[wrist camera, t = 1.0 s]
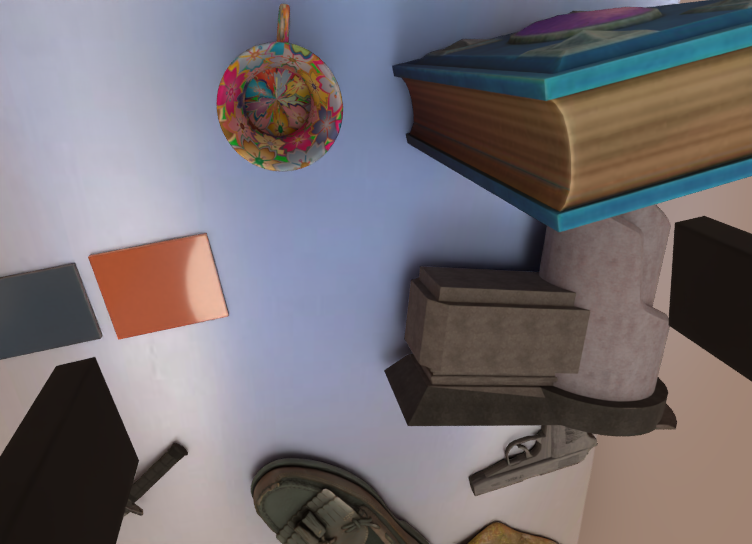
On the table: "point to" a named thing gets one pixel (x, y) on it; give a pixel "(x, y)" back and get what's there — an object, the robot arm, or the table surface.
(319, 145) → the mug
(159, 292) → the mug tile
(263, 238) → the table surface
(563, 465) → the handgun
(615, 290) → the machine
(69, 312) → the candle tile
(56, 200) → the table surface
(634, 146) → the book
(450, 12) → the table surface
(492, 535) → the decorative stone
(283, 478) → the loafer
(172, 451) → the knife
